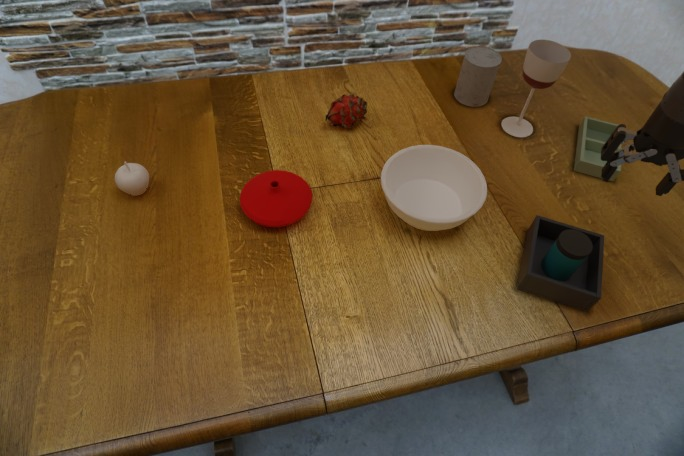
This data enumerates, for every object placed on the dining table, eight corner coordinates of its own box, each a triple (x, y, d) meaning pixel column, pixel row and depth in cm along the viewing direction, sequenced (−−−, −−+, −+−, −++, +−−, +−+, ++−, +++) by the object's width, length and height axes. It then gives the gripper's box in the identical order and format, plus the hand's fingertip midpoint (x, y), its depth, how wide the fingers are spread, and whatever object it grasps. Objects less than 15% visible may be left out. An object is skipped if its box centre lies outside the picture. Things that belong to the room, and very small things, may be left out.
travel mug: (573, 260, 95) (593, 235, 88) (570, 284, 92) (591, 260, 85) (542, 251, 97) (560, 225, 89) (539, 274, 93) (557, 249, 86)
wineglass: (514, 111, 125) (545, 35, 108) (542, 130, 121) (579, 54, 103) (492, 122, 122) (520, 46, 104) (520, 143, 117) (554, 67, 100)
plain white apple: (151, 174, 107) (140, 149, 100) (156, 196, 103) (145, 171, 96) (119, 182, 105) (106, 157, 99) (123, 204, 101) (109, 179, 95)
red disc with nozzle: (291, 244, 96) (289, 223, 91) (227, 218, 100) (221, 196, 94) (324, 193, 105) (324, 171, 99) (264, 171, 109) (261, 148, 103)
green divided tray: (615, 135, 121) (622, 125, 118) (613, 181, 110) (621, 171, 108) (578, 126, 122) (584, 115, 120) (573, 170, 112) (580, 160, 109)
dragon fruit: (369, 122, 123) (329, 139, 121) (357, 93, 122) (316, 109, 120) (377, 114, 114) (334, 132, 112) (364, 82, 114) (320, 100, 112)
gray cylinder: (481, 111, 125) (495, 71, 115) (449, 99, 127) (459, 59, 118) (492, 92, 130) (506, 53, 120) (460, 81, 133) (471, 42, 123)
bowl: (445, 265, 94) (455, 241, 88) (357, 212, 102) (359, 186, 95) (494, 200, 105) (505, 175, 99) (411, 156, 113) (416, 130, 107)
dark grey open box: (591, 250, 98) (604, 235, 93) (587, 312, 89) (601, 298, 84) (527, 230, 100) (536, 214, 96) (516, 288, 92) (526, 274, 87)
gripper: (636, 112, 65) (586, 188, 78) (749, 138, 62) (677, 213, 75) (636, 82, 69) (588, 159, 82) (742, 105, 66) (675, 181, 79)
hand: (631, 185), depth 78 cm, fingers open, 8 cm apart
